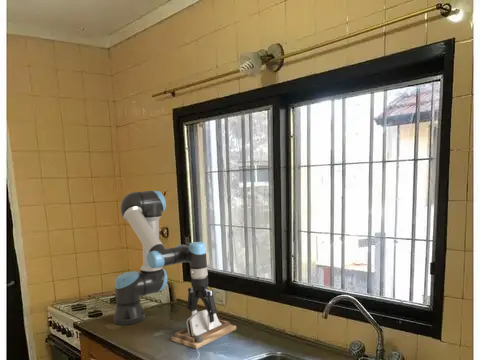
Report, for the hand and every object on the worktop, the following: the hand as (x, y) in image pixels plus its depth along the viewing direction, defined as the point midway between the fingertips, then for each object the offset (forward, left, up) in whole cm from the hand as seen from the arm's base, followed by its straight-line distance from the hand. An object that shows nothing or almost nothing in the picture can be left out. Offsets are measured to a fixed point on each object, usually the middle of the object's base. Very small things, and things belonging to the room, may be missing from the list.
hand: (202, 327), depth 181 cm
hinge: (+1, 0, -2) cm, 2 cm away
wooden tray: (+1, 0, -3) cm, 3 cm away
